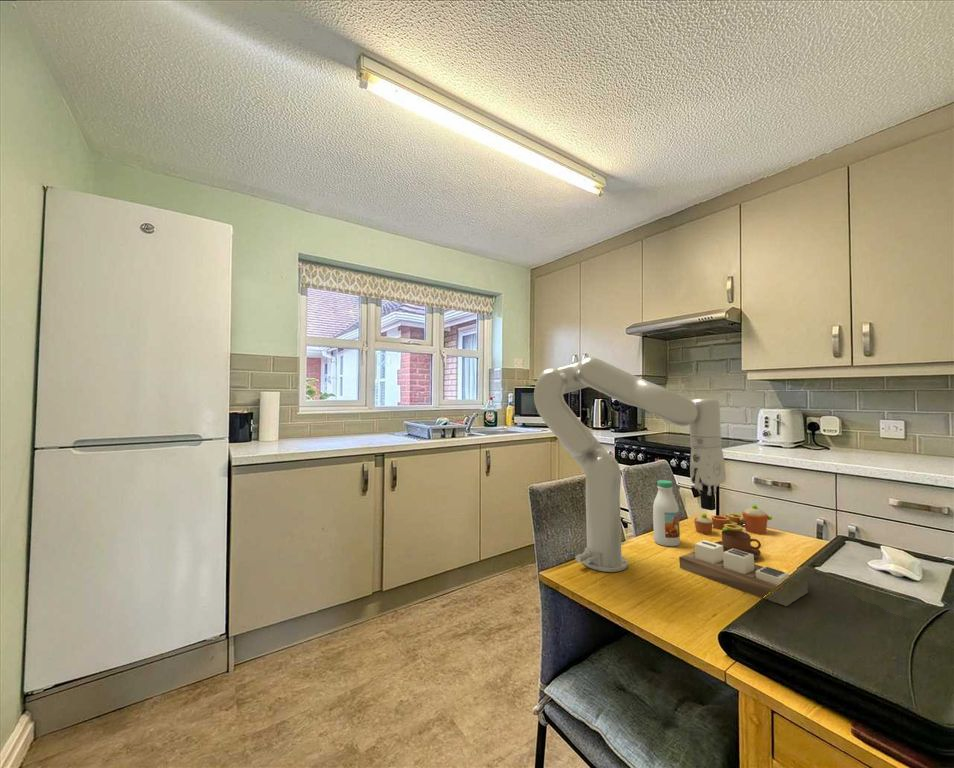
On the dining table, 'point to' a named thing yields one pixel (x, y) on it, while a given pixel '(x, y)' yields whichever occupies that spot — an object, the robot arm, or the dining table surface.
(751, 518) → the toy tea set
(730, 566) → the tile two
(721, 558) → the tile one
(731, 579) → the board
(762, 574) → the tile three
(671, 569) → the dining table surface
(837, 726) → the dining table surface
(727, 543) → the cup and saucer
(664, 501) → the milk bottle
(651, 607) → the dining table surface
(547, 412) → the robot arm
